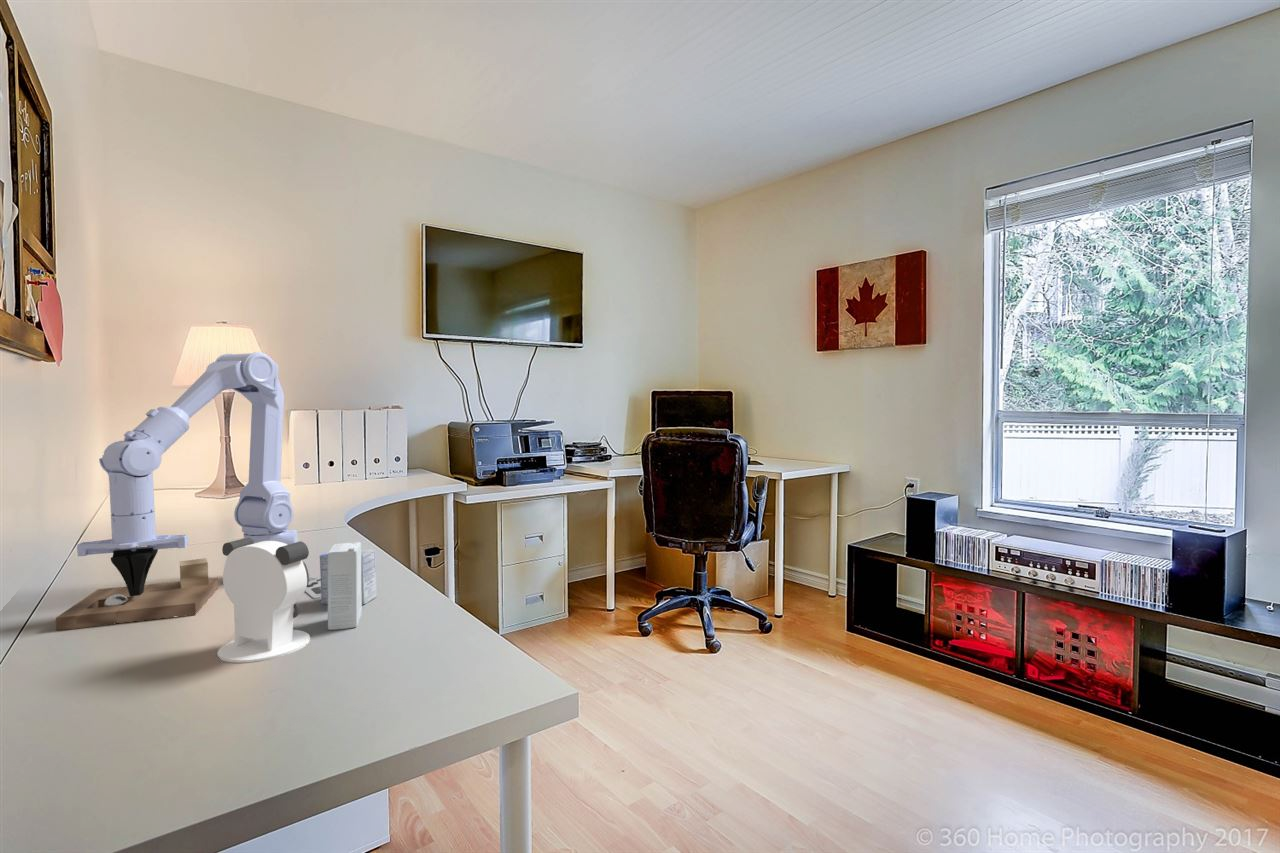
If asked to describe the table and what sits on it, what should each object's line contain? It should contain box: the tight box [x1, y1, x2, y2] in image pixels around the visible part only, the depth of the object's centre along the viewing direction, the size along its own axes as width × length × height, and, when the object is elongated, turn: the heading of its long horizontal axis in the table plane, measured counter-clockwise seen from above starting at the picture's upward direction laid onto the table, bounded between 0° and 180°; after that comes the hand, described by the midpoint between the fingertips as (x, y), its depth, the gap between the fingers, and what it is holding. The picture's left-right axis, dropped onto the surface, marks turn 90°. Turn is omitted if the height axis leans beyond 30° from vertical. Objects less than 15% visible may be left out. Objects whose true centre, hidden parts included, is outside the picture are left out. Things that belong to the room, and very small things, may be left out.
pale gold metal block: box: [179, 557, 209, 589], centre depth 116 cm, size 4×4×4 cm
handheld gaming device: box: [304, 575, 321, 600], centre depth 122 cm, size 9×1×15 cm
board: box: [55, 577, 219, 632], centre depth 109 cm, size 18×16×2 cm
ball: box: [104, 594, 129, 607], centre depth 106 cm, size 3×3×3 cm
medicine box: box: [319, 548, 378, 605], centre depth 112 cm, size 8×4×9 cm, turn 84°
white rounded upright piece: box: [217, 537, 311, 664], centre depth 91 cm, size 12×11×15 cm
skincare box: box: [327, 541, 363, 631], centre depth 101 cm, size 6×4×12 cm
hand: (136, 594), depth 107 cm, fingers closed
